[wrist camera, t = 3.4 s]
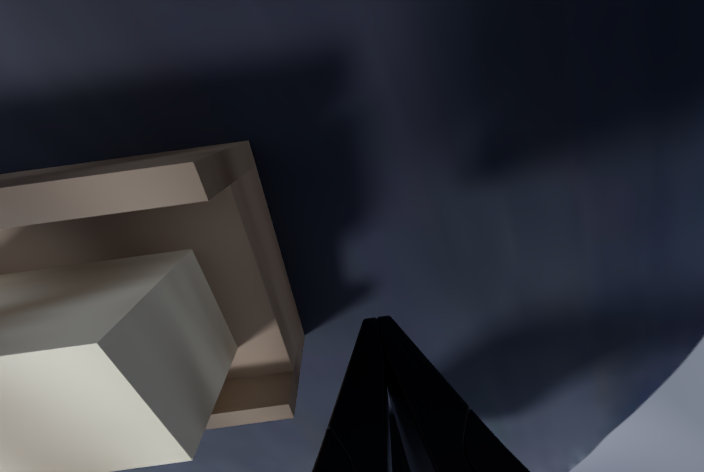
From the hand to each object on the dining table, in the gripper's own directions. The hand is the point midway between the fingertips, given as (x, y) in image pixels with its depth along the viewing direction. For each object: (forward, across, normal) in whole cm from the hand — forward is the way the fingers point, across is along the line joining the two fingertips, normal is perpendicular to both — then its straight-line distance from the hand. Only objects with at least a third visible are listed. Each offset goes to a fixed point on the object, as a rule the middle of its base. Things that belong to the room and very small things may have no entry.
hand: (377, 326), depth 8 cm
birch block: (+2, +10, 0) cm, 10 cm away
